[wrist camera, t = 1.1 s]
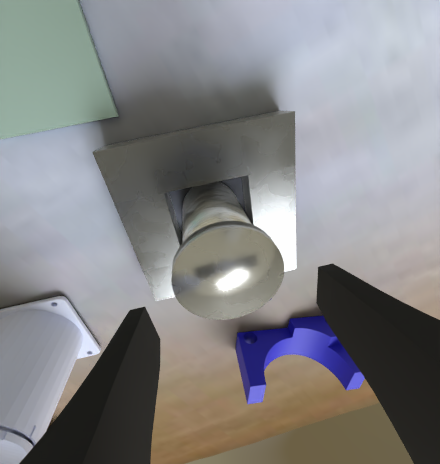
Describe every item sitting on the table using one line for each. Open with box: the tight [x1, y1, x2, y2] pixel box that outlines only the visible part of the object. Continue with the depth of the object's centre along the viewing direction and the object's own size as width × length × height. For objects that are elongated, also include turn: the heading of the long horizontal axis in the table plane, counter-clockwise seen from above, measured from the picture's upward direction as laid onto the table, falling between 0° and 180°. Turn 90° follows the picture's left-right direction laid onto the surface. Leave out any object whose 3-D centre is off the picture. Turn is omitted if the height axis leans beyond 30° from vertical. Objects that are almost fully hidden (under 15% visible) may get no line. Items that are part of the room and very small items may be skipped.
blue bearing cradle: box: [236, 316, 365, 404], centre depth 25 cm, size 12×4×6 cm, turn 88°
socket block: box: [93, 111, 296, 301], centre depth 18 cm, size 12×12×2 cm
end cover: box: [171, 182, 284, 320], centre depth 15 cm, size 5×5×9 cm
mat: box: [0, 0, 119, 139], centre depth 12 cm, size 9×9×1 cm
